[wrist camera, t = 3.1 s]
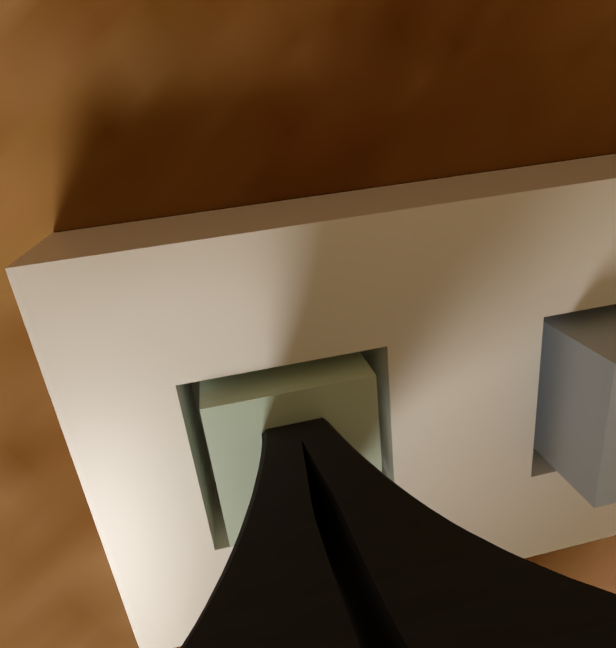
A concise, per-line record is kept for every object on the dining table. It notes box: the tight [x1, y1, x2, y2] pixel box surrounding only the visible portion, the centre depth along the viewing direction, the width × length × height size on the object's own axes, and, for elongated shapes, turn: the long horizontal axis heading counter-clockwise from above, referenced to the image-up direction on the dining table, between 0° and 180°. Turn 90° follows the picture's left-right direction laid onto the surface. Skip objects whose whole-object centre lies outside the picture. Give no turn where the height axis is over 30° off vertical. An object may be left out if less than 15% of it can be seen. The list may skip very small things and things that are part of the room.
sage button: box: [199, 351, 382, 547], centre depth 12 cm, size 4×4×3 cm
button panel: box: [5, 154, 616, 648], centre depth 14 cm, size 10×25×3 cm, turn 96°
